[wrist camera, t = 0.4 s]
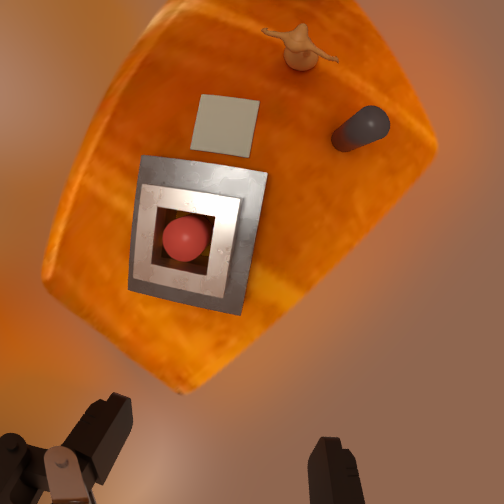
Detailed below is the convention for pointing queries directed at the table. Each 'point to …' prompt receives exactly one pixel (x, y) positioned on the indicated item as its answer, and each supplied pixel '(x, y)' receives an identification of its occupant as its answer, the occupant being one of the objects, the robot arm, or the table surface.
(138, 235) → the box
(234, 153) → the pad
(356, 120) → the dark grey cylinder
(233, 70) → the table surface
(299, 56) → the figurine
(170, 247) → the button
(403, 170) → the table surface
